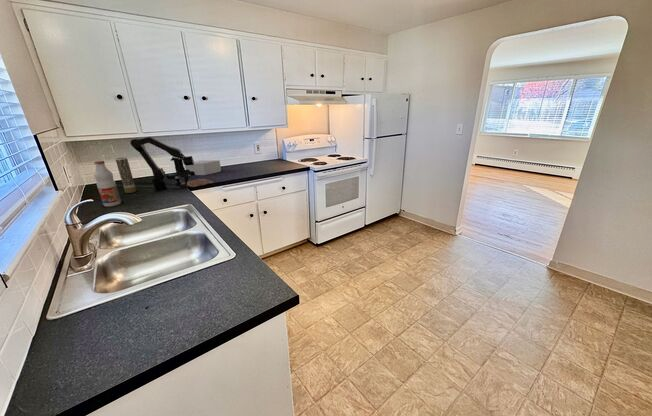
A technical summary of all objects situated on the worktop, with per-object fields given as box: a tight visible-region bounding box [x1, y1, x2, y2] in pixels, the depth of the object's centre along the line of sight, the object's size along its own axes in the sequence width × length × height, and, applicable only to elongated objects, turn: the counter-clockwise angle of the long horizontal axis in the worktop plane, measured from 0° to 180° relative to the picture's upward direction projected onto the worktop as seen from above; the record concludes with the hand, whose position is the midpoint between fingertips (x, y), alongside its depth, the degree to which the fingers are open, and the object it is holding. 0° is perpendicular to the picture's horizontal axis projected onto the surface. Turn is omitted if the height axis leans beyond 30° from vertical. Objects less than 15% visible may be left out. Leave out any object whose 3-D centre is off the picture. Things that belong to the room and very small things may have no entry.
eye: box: [180, 182, 188, 189], centre depth 207 cm, size 4×4×3 cm
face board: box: [182, 178, 215, 188], centre depth 219 cm, size 18×18×1 cm
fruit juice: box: [93, 160, 122, 207], centre depth 168 cm, size 9×9×28 cm
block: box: [184, 159, 222, 176], centre depth 248 cm, size 15×30×11 cm, turn 119°
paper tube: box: [115, 157, 137, 194], centre depth 193 cm, size 7×7×25 cm
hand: (183, 185), depth 207 cm, fingers closed on eye, 4 cm apart
